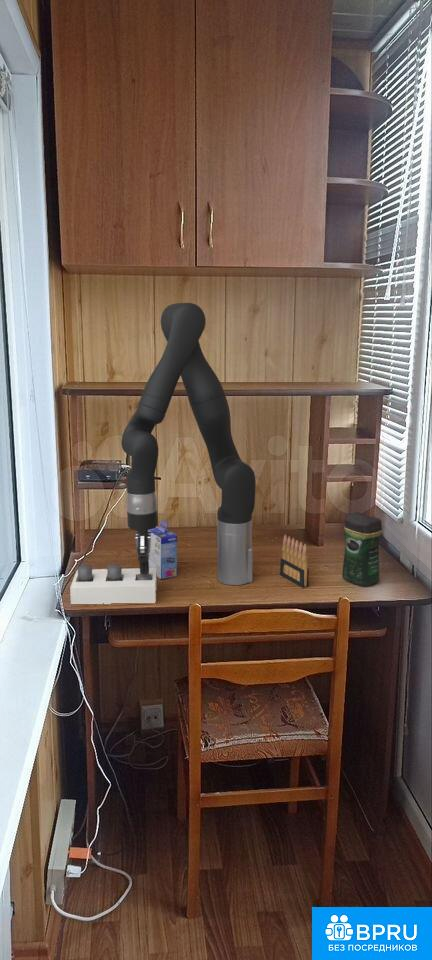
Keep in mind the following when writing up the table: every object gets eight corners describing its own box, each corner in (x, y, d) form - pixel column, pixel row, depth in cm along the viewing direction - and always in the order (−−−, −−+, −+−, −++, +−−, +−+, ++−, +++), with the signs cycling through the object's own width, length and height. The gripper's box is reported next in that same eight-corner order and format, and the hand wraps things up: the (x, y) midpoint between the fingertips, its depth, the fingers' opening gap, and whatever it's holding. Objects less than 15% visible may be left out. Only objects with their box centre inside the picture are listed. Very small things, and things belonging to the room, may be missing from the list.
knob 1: (93, 579, 183) (92, 564, 182) (91, 584, 179) (91, 569, 178) (79, 579, 182) (78, 564, 181) (77, 584, 179) (76, 570, 178)
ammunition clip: (308, 586, 187) (310, 544, 184) (303, 588, 186) (304, 545, 183) (285, 573, 196) (286, 532, 193) (279, 574, 195) (280, 533, 192)
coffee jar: (384, 582, 190) (388, 516, 185) (364, 589, 185) (367, 522, 180) (357, 571, 197) (360, 508, 193) (337, 578, 193) (339, 513, 188)
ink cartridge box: (178, 576, 195) (177, 526, 191) (161, 580, 192) (159, 530, 188) (161, 565, 203) (160, 517, 199) (144, 569, 200) (143, 520, 196)
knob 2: (151, 587, 184) (151, 572, 183) (151, 592, 181) (150, 578, 179) (137, 587, 184) (137, 573, 183) (137, 593, 180) (136, 578, 179)
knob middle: (122, 578, 183) (121, 563, 182) (121, 583, 179) (120, 569, 178) (108, 578, 183) (107, 564, 182) (107, 584, 179) (106, 569, 178)
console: (157, 585, 188) (156, 567, 187) (155, 604, 177) (155, 585, 176) (77, 587, 187) (76, 569, 186) (71, 606, 176) (70, 588, 175)
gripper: (156, 516, 170) (158, 582, 175) (157, 500, 183) (159, 563, 187) (125, 517, 170) (128, 584, 174) (128, 501, 183) (131, 564, 187)
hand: (144, 573), depth 181 cm, fingers closed
